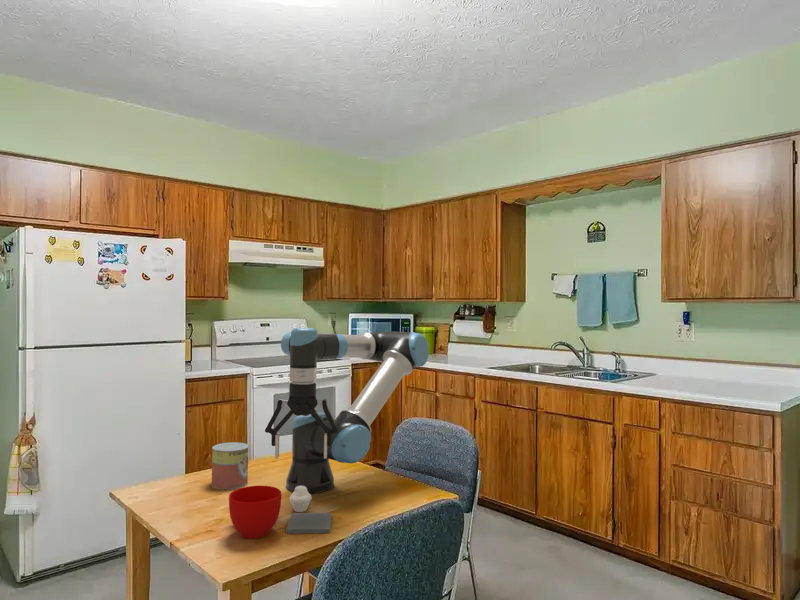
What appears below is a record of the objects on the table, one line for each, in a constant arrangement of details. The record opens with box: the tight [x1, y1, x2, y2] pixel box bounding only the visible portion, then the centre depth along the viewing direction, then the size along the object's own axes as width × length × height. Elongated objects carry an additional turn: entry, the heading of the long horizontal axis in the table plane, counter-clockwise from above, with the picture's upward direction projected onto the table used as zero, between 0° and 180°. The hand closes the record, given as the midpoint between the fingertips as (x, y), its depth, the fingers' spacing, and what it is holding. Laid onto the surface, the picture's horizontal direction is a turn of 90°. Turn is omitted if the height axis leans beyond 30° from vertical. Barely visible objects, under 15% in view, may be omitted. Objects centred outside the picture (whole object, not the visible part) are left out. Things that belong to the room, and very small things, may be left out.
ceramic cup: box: [228, 485, 282, 540], centre depth 140 cm, size 13×17×10 cm
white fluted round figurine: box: [289, 486, 312, 513], centre depth 155 cm, size 6×6×7 cm
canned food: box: [210, 441, 249, 490], centre depth 176 cm, size 11×11×12 cm
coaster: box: [285, 512, 333, 535], centre depth 144 cm, size 11×11×1 cm
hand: (301, 457), depth 155 cm, fingers open, 13 cm apart
